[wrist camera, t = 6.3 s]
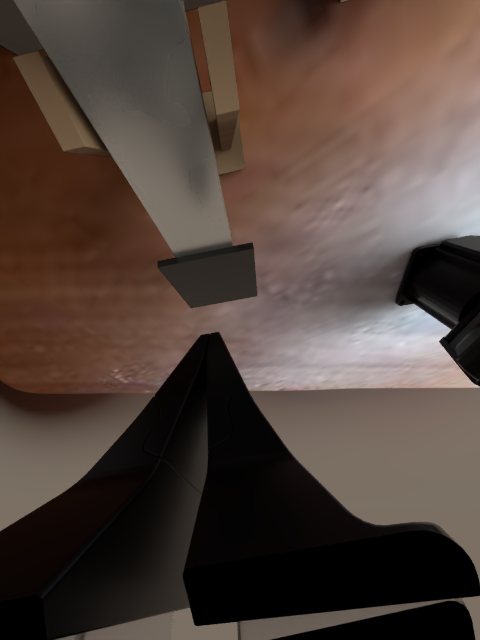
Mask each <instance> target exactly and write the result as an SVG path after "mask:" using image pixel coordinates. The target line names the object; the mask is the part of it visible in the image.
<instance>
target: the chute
mask: <svg viewBox="0 0 480 640" xmlns="http://www.w3.org/2000/svg"><path fill="white" fill-rule="evenodd" d="M220 1H224V0H183V3H184V8H185V11H187V10H190V9H194V8H198V7H201V6H205V5H209V4H213V3H216V2H220ZM0 45H1V46H3V47H5V48H7V49H8V50H10V51H12V52H14V53H15V54H17V55H23V54H27V53H30V52H34V51H38V50H42V49H44V48H43V46H42V45H41V43H40V41H39V40H38V38H37V37H36V35H35V33H34V32H33V30H32V29H31V27H30V26H29V24H28V22H27V21H26V19H25V18H24V16H23V15H22V13H21V11H20V10H19V8H18V7H17V5H16V3H15V2H14V0H0Z"/></svg>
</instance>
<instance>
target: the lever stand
mask: <svg viewBox="0 0 480 640" xmlns="http://www.w3.org/2000/svg"><path fill="white" fill-rule="evenodd" d="M198 11H199V17H200V23H201V29H202V35H203V41H204V48H205V54H206V60H207V66H208V72H209V78H210V84H211V90H212V91H209V92H205V93H202V95H203V100H204V105H205V109H206V114H207V119H208V124H209V129H210V134H211V139H212V143H213V148H214V153H215V158H216V163H217V168H218V172H219V174H224V173H228V172H233V171H237V170H242V169H245V165H244V157H243V149H242V141H241V133H240V125H239V118H238V114H239V110H240V109H239V101H238V93H237V85H236V77H235V68H234V60H233V52H232V44H231V36H230V28H229V20H228V11H227V3H226V0H225V1H221V2H217V3H214V4H210V5H206V6H203V7H199V8H198ZM13 59H14V61H15V63H16V65H17V66H18V68H19V70H20V72H21V74H22V76H23V78H24V79H25V81H26V83H27V85H28V87H29V89H30V90H31V92H32V94H33V96H34V98H35V100H36V102H37V103H38V105H39V107H40V109H41V111H42V113H43V114H44V116H45V118H46V120H47V122H48V124H49V125H50V127H51V129H52V131H53V133H54V135H55V137H56V138H57V140H58V142H59V144H60V146H61V148H62V149H63V151H65V152H72V153H80V154H87V155H94V156H102V157H109V158H113V157H112V155H111V154H110V152H109V150H108V149H107V147H106V146H105V144H104V143H103V141H102V139H101V138H100V136H99V135H98V133H97V132H96V130H95V128H94V127H93V125H92V124H91V122H90V120H89V119H88V117H87V116H86V114H85V113H84V111H83V109H82V108H81V106H80V105H79V103H78V101H77V100H76V98H75V97H74V95H73V94H72V92H71V90H70V89H69V87H68V86H67V84H66V83H65V81H64V79H63V78H62V76H61V75H60V73H59V71H58V70H57V68H56V67H55V65H54V64H53V62H52V60H51V59H50V58H48V57H47V56H45V55H44V54H42V53H41V52H39V51H35V52H32V53H28V54H24V55H20V56H17V57H13Z"/></svg>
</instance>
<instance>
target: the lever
mask: <svg viewBox="0 0 480 640" xmlns="http://www.w3.org/2000/svg"><path fill="white" fill-rule="evenodd" d="M14 2H15V3H16V5H17V7H18V8H19V10H20V11H21V13H22V15H23V16H24V18H25V19H26V21H27V22H28V24H29V26H30V27H31V29H32V30H33V32H34V33H35V35H36V37H37V38H38V40H39V41H40V43H41V45H42V46H43V48H44V49H45V51H46V52H47V54H48V56H49V57H50V59H51V60H52V62H53V64H54V65H55V67H56V68H57V70H58V71H59V73H60V75H61V76H62V78H63V79H64V81H65V83H66V84H67V86H68V87H69V89H70V90H71V92H72V94H73V95H74V97H75V98H76V100H77V101H78V103H79V105H80V106H81V108H82V109H83V111H84V113H85V114H86V116H87V117H88V119H89V120H90V122H91V124H92V125H93V127H94V128H95V130H96V132H97V133H98V135H99V136H100V138H101V139H102V141H103V143H104V144H105V146H106V147H107V149H108V150H109V152H110V154H111V155H112V157H113V158H114V160H115V162H116V163H117V165H118V166H119V168H120V169H121V171H122V173H123V174H124V176H125V177H126V179H127V181H128V182H129V184H130V185H131V187H132V188H133V190H134V192H135V193H136V195H137V196H138V198H139V199H140V201H141V203H142V204H143V206H144V207H145V209H146V211H147V212H148V214H149V215H150V217H151V218H152V220H153V222H154V223H155V225H156V226H157V228H158V230H159V231H160V233H161V234H162V236H163V237H164V239H165V241H166V242H167V244H168V245H169V247H170V248H171V250H172V252H173V253H174V255H175V256H176V258H172V259H167V260H161V261H158V269H159V270H160V271H161V272H162V273H163V275H164V276H165V277H166V278H167V280H168V281H169V282H170V283H171V284H172V286H173V287H174V288H175V289H176V290H177V292H178V293H179V294H180V295H181V296H182V298H183V299H184V300H185V301H186V303H187V304H188V305H189V306H190V307H191V308H195V307H200V306H206V305H211V304H217V303H222V302H227V301H233V300H238V299H244V298H249V297H255V296H257V286H256V273H255V260H254V248H253V243H247V244H242V245H237V246H234V245H233V240H232V236H231V231H230V226H229V221H228V216H227V211H226V206H225V202H224V197H223V192H222V187H221V182H220V177H219V172H218V168H217V163H216V158H215V153H214V148H213V143H212V139H211V134H210V129H209V124H208V119H207V114H206V109H205V105H204V100H203V95H202V90H201V85H200V80H199V75H198V71H197V66H196V61H195V56H194V51H193V46H192V42H191V37H190V32H189V27H188V22H187V17H186V12H185V8H184V3H183V0H14Z"/></svg>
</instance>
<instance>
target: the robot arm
mask: <svg viewBox="0 0 480 640" xmlns="http://www.w3.org/2000/svg"><path fill="white" fill-rule="evenodd" d="M419 252H420V253H419ZM418 253H419V254H418ZM395 303H396V304H397V305H399V306H403V305H408V304H415V305H417V306H418V307H420V308H421V309H423V310H424V311H425V312H427V313H428V314H430V315H431V316H433V317H434V318H436V319H437V320H438V321H440V322H441V323H443V324H444V325H446V326H447V327H449V328H450V329H452V330H451V331H450V332H449V333H448V334H447V335H446V336H445V337H443V338H442V339H441V340H440V341H439V342H440V343H441V345H442V346H443V347H444V348H445V350H446V351H447V352H448V353H449V355H450V356H451V357H452V358H453V360H454V361H455V362H456V363H457V365H458V366H459V367H460V368H461V370H462V371H463V372H464V373H465V374H466V375H467V377H468V378H469V379H470V380H471V381H472V382H473V383H474V384H476V385H478V386H480V236H466V237H460V238H455V239H450V240H445V241H443V242H441V243H439V244H433V245H428V246H423V247H418V248H416V249H415V250H414V251H413V252H412V255H411V258H410V261H409V264H408V266H407V269H406V272H405V275H404V278H403V281H402V284H401V287H400V289H399V292H398V295H397V298H396V301H395ZM474 596H480V583H479V578H478V575H477V572H476V569H475V566H474V564H473V562H472V560H471V559H470V557H469V556H468V554H467V553H466V552H465V551H464V550H463V548H462V547H461V546H460V545H458V543H457V542H455V541H454V540H453V539H452V538H451V537H450V536H449V535H448V534H447V533H446V532H445V531H444V530H443V529H442V528H441V527H440V526H438V525H436V524H435V523H430V522H410V523H400V524H392V525H375V524H372V523H368V522H365V521H363V520H362V519H360V518H358V517H356V516H355V515H353V514H352V513H351V512H349V511H348V510H347V509H346V508H345V507H344V506H343V505H342V504H341V503H340V502H339V501H338V500H337V499H336V498H335V497H334V496H333V495H332V494H331V493H330V492H329V491H328V490H327V489H326V488H325V487H324V486H323V485H322V484H321V483H320V482H319V481H318V480H317V479H316V478H315V477H314V476H313V475H312V474H311V473H310V472H309V471H308V470H307V469H306V468H305V467H304V466H303V465H302V464H301V463H300V462H299V461H298V460H297V459H296V458H295V457H294V456H293V454H292V453H291V452H290V451H289V450H288V448H287V447H286V446H285V444H284V443H283V442H282V440H281V439H280V437H279V436H278V435H277V433H276V432H275V431H274V429H273V428H272V426H271V425H270V423H269V422H268V421H267V419H266V418H265V416H264V415H263V413H262V412H261V411H260V409H259V408H258V406H257V404H256V403H255V402H254V400H253V398H252V396H251V395H250V393H249V391H248V389H247V387H246V385H245V383H244V381H243V379H242V377H241V375H240V373H239V371H238V369H237V367H236V365H235V363H234V361H233V359H232V357H231V355H230V353H229V351H228V349H227V347H226V345H225V343H224V341H223V339H222V337H221V335H220V333H219V332H215V333H211V334H204V335H201V336H200V337H199V338H198V339H197V341H196V342H195V343H194V345H193V346H192V347H191V348H190V350H189V351H188V352H187V354H186V355H185V356H184V358H183V359H182V360H181V361H180V363H179V364H178V365H177V367H176V368H175V369H174V371H173V372H172V373H171V374H170V376H169V377H168V378H167V380H166V381H165V382H164V384H163V385H162V386H161V387H160V389H159V390H158V391H157V393H156V394H155V397H153V398H152V399H151V400H150V402H149V403H148V404H147V406H146V407H145V408H144V409H143V411H142V412H141V413H140V414H139V416H138V417H137V418H136V419H135V420H134V422H133V423H132V424H131V425H130V426H129V427H128V428H127V430H126V431H125V432H124V433H123V434H122V435H121V436H120V437H119V438H118V440H117V441H116V442H115V443H114V444H113V445H112V446H111V447H110V449H109V450H108V451H107V452H106V453H105V454H104V455H103V456H102V457H101V459H100V460H99V461H98V462H97V463H96V464H95V465H94V466H93V467H92V469H91V470H90V471H89V472H88V473H87V474H86V475H85V476H84V477H83V478H81V479H80V480H79V481H78V482H77V483H76V484H74V485H73V486H72V487H70V488H69V489H68V490H66V491H65V492H63V493H62V494H60V495H59V496H57V497H55V498H54V499H52V500H51V501H49V502H47V503H46V504H44V505H42V506H41V507H39V508H37V509H36V510H34V511H32V512H31V513H29V514H28V515H26V516H25V517H23V518H21V519H19V520H18V521H16V522H15V523H13V524H11V525H10V526H8V527H6V528H5V529H3V530H1V531H0V640H171V635H172V626H173V617H174V611H178V610H182V609H186V608H191V613H192V617H193V621H194V624H195V625H196V626H202V625H211V624H220V623H230V622H237V624H238V625H237V626H238V640H475V635H474V629H473V623H472V619H471V616H470V613H469V611H468V609H467V607H466V606H465V604H464V602H463V600H462V598H464V597H474Z"/></svg>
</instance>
